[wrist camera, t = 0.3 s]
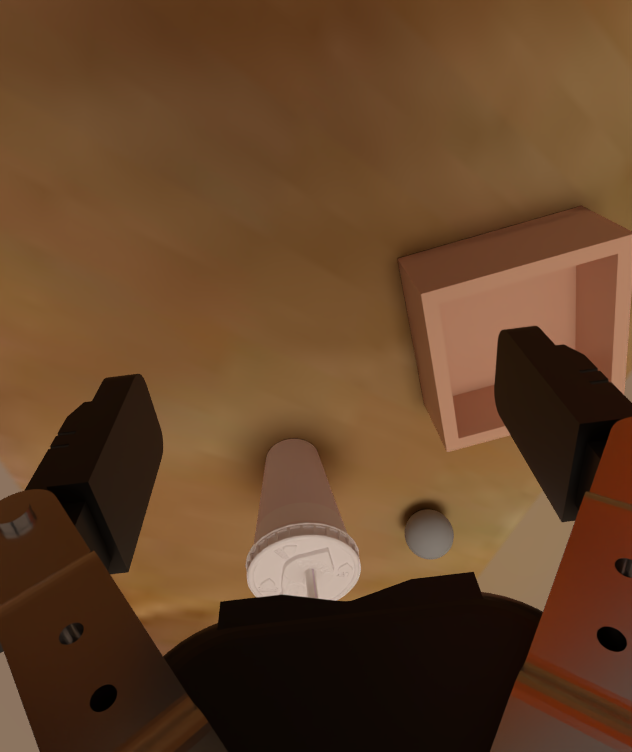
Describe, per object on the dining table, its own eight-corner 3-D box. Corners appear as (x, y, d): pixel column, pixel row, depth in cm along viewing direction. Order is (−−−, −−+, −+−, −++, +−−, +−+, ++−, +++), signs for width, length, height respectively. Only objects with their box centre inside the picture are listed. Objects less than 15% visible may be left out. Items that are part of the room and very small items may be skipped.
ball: (396, 506, 41) (407, 543, 38) (442, 494, 41) (457, 530, 38) (403, 536, 43) (415, 574, 40) (447, 525, 43) (462, 562, 40)
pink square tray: (397, 258, 31) (420, 294, 26) (581, 205, 30) (635, 233, 26) (424, 403, 36) (446, 452, 32) (579, 361, 36) (623, 404, 32)
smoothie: (355, 443, 38) (404, 630, 26) (307, 504, 40) (331, 698, 28) (275, 408, 35) (289, 595, 24) (229, 474, 38) (221, 673, 26)
